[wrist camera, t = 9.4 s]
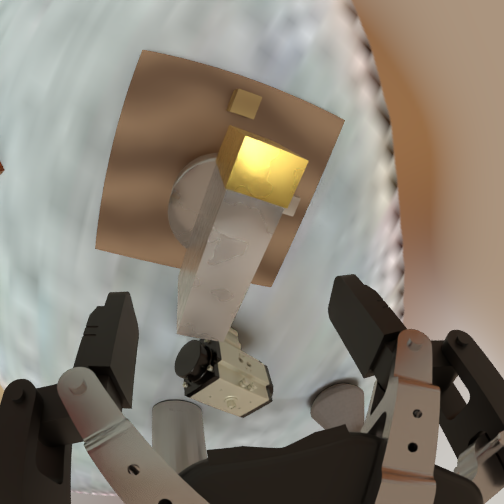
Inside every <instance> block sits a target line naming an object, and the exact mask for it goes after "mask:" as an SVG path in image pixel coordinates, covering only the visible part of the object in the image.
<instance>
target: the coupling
mask: <svg viewBox="0 0 504 504" xmlns="http://www.w3.org/2000/svg"><path fill="white" fill-rule="evenodd" d="M308 162H309V161H308V160H306V159H305V158H303V157H301V156H299V155H298V154H296V153H294V152H292V151H291V150H289V149H287V148H285V147H283V146H281V145H280V144H278V143H276V142H274V141H272V140H269V139H266V138H264V137H261V136H259V135H256V134H253V133H251V132H248V131H245V130H242V129H240V128H237V127H234V126H231V125H229V127H228V129H227V132H226V134H225V137H224V139H223V142H222V145H221V147H220V150H219V152H218V153H211V154H206V155H202V156H200V157H198V158H196V159H194V160H192V161H191V162H189V163H188V164H187V165H186V166H185V167H184V168H183V169H182V170H181V171H180V173H179V174H178V175H177V177H176V179H175V181H174V184H173V187H172V191H171V195H170V199H169V204H168V220H169V224H170V227H171V230H172V232H173V234H174V236H175V237H176V239H177V240H178V241H179V242H180V243H181V244H182V245H183V246H184V247H185V248H186V249H187V250H186V253H185V256H184V259H183V263H182V266H181V269H180V272H179V276H178V302H177V334H180V335H185V336H190V337H196V338H201V339H207V340H213V341H220V342H224V339H225V337H226V335H227V333H228V331H229V329H230V327H231V324H232V322H233V320H234V318H235V316H236V314H237V312H238V309H239V307H240V305H241V303H242V301H243V299H244V297H245V294H246V292H247V290H248V288H249V286H250V284H251V281H252V279H253V277H254V275H255V273H256V270H257V268H258V266H259V264H260V262H261V260H262V257H263V255H264V253H265V251H266V249H267V246H268V244H269V242H270V240H271V238H272V235H273V233H274V231H275V229H276V227H277V224H278V222H279V220H280V218H281V216H282V213H283V211H284V209H285V208H288V206H289V204H290V202H291V199H292V197H293V195H294V193H295V191H296V188H297V186H298V184H299V182H300V180H301V177H302V175H303V173H304V171H305V168H306V166H307V164H308Z"/></svg>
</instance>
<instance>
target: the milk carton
mask: <svg viewBox="0 0 504 504" xmlns="http://www.w3.org/2000/svg"><path fill="white" fill-rule="evenodd" d="M3 171H4V168H3V166H2V164H1V162H0V174H1V173H2V172H3Z"/></svg>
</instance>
